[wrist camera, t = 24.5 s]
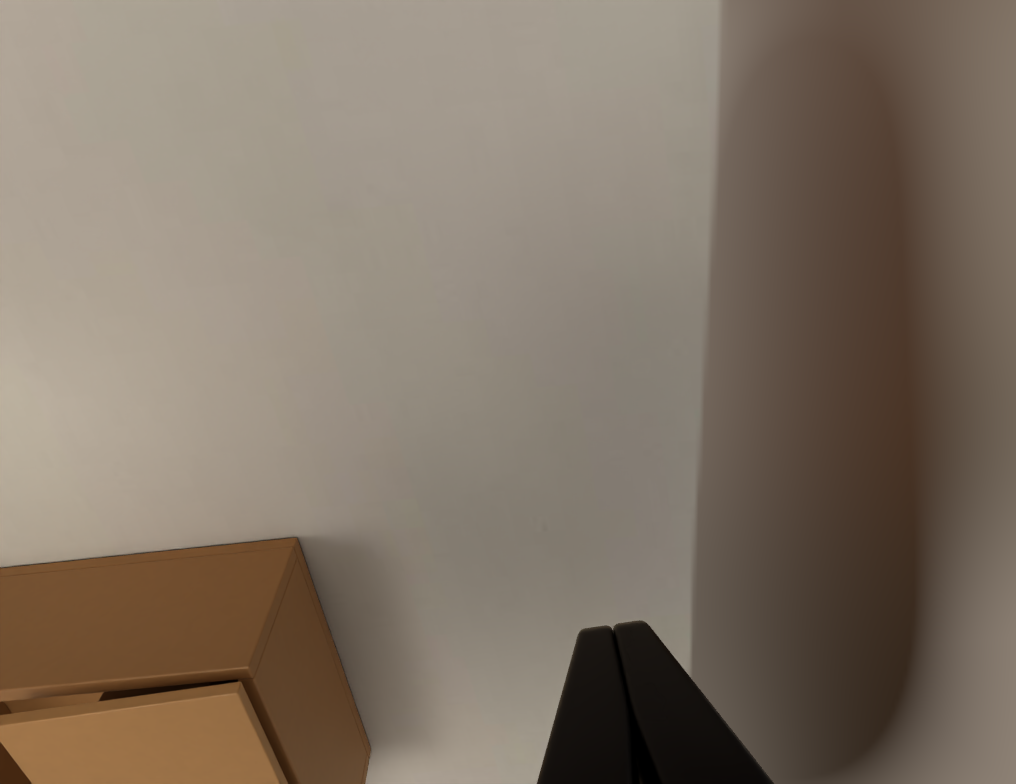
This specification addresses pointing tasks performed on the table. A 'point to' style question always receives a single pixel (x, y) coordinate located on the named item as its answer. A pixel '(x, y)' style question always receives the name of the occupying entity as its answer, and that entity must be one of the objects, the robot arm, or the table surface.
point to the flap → (145, 740)
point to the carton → (185, 644)
